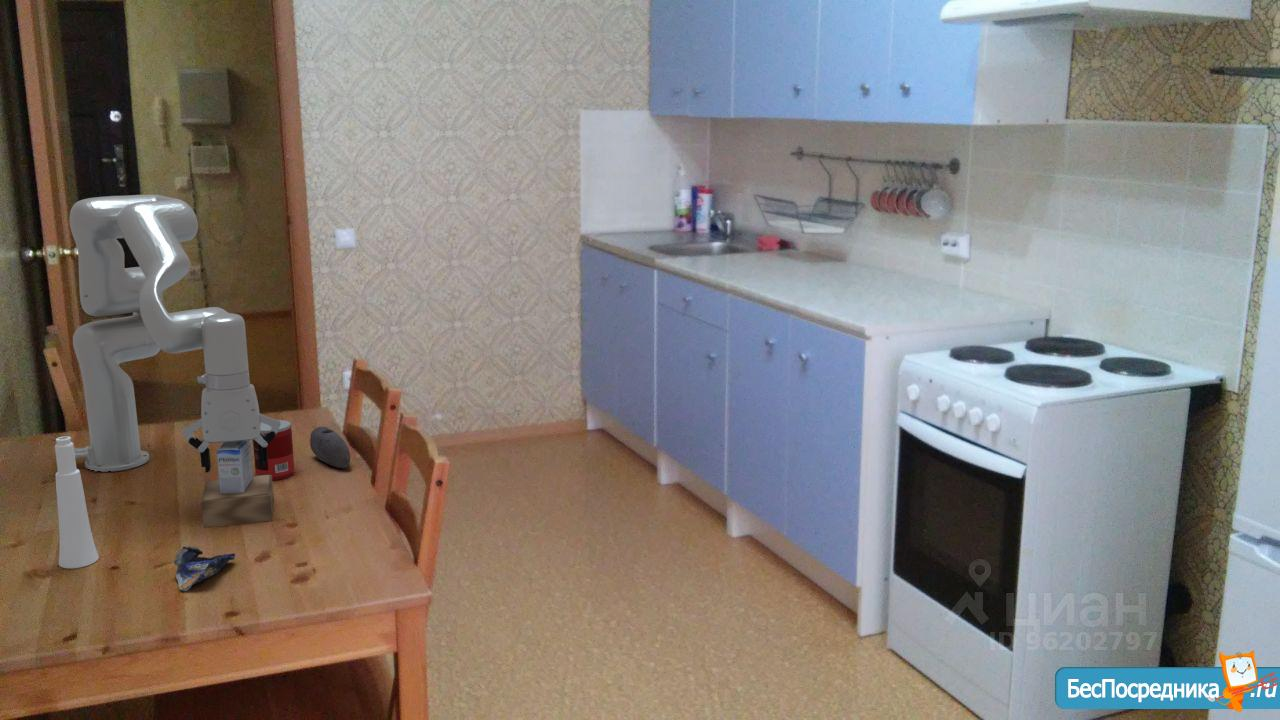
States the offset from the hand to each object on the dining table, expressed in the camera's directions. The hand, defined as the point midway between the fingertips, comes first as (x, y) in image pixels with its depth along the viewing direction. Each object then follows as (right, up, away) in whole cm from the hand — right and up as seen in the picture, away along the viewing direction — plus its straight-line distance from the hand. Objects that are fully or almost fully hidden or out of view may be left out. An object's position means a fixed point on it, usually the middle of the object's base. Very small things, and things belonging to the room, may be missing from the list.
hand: (235, 467), depth 201 cm
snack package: (+4, -16, -25) cm, 30 cm away
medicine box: (0, -4, +1) cm, 4 cm away
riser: (0, -9, +2) cm, 9 cm away
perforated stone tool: (+10, -2, +31) cm, 32 cm away
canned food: (0, -4, +23) cm, 24 cm away
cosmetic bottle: (-19, -14, -20) cm, 31 cm away
